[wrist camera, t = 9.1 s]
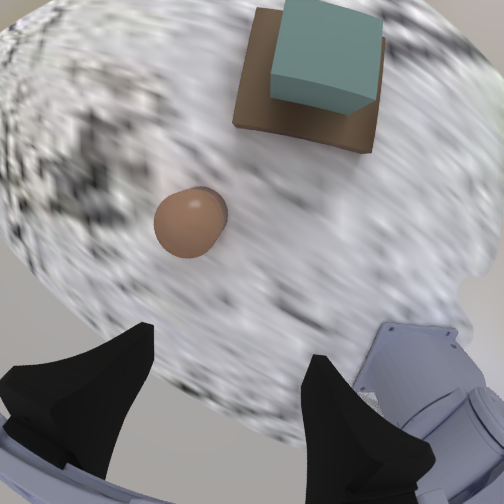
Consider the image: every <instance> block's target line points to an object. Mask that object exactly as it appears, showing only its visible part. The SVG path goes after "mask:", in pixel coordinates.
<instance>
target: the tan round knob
mask: <svg viewBox="0 0 504 504" xmlns="http://www.w3.org/2000/svg"><path fill="white" fill-rule="evenodd" d="M227 219H228V210H227V206H226V203H225V201H224V200H223V198H222V197H221V196H220V195H219V194H218V193H217V192H216V191H214V190H212V189H210V188H208V187H201V186H200V187H193V188H190V189H187V190H184V191H181V192H178V193H175V194H172V195H170V196H168V197H167V198H166V199H164V200H163V201H162V203H161V204H160V205H159V207H158V208H157V211H156V213H155V217H154V230H155V234H156V237H157V239H158V241H159V243H160V244H161V245H162V247H163V248H164V249H165V250H166V251H168V252H169V253H171V254H172V255H174V256H177V257H180V258H195V257H198V256H201V255H203V254H204V253H206V252H207V251H208V250H209V249H210V248H211V247H212V246H213V244H214V243H215V241H216V240H217V238H218V237H219V235H220V234H221V232H222V231H223V229H224V228H225V226H226V223H227Z"/></svg>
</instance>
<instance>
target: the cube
mask: <svg viewBox="0 0 504 504" xmlns="http://www.w3.org/2000/svg"><path fill="white" fill-rule="evenodd" d="M382 29H383V20H381V19H378V18H375V17H373V16H370V15H367V14H364V13H361V12H358V11H355V10H351V9H348V8H345V7H341V6H337V5H334V4H330V3H326V2H322V1H317V0H286V1H285V6H284V11H283V15H282V20H281V25H280V30H279V35H278V40H277V45H276V50H275V55H274V60H273V65H272V70H271V81H270V98H274V99H279V100H284V101H290V102H294V103H299V104H304V105H308V106H313V107H317V108H321V109H325V110H329V111H333V112H336V113H340V114H344V115H347V116H348V115H350V114H352V113H354V112H355V111H357V110H359V109H361V108H362V107H364V106H366V105H368V104H370V103H371V102H373V101H375V100H376V95H377V87H378V78H379V69H380V58H381V45H382Z"/></svg>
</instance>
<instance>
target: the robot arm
mask: <svg viewBox="0 0 504 504" xmlns="http://www.w3.org/2000/svg"><path fill="white" fill-rule="evenodd" d="M391 327H392V329H391V330H389V329H390V328H391ZM447 332H448V333H447ZM446 333H447V334H446ZM457 334H458V331H457V330H456V329H455V328H442V327H430V326H419V325H408V324H398V323H389V322H385V323H383V324H382V325H381V327H380V329H379V332H378V334H377V336H376V339H375V341H374V343H373V346H372V348H371V350H370V352H369V354H368V357H367V359H366V361H365V363H364V365H363V367H362V369H361V371H360V373H359V375H358V377H357V379H356V381H355V383H354V385H353V389H352V388H351V387H350V386H349V384H348V383H347V382H346V381H345V379H344V378H343V377H342V376H341V374H340V373H339V372H338V371H337V369H336V368H335V367H334V365H333V364H332V363H331V361H330V360H329V359H328V358H327V356H324V355H315V354H313V356H312V359H311V362H310V364H309V367H308V370H307V372H306V375H305V377H304V380H303V382H302V385H301V408H302V415H303V422H304V429H305V436H306V443H307V488H306V501H305V504H504V401H503V400H502V399H501V398H500V397H499V396H498V395H497V394H496V393H494V391H492V390H491V389H490V388H488V387H486V383H485V379H484V376H483V373H482V372H481V370H480V369H479V368H478V367H477V365H476V364H475V363H474V362H473V360H472V359H471V358H470V357H469V356H468V354H467V353H466V352H465V351H464V350H463V349H462V347H461V346H460V345H459V344H458V343H457V342H456V340H455V338H456V336H457ZM153 361H154V325H152V324H148V323H144V322H141V323H139V324H137V325H135V326H134V327H132V328H130V329H129V330H127V331H125V332H124V333H122V334H120V335H119V336H117V337H115V338H113V339H112V340H110V341H108V342H106V343H104V344H102V345H100V346H98V347H96V348H94V349H92V350H89V351H87V352H85V353H82V354H79V355H76V356H73V357H70V358H67V359H63V360H59V361H55V362H50V363H44V364H38V365H25V366H24V365H23V366H13V367H12V368H11V369H10V370H9V371H8V372H7V373H6V374H5V375H4V376H3V377H2V378H1V380H0V397H1V399H2V401H3V403H4V405H5V406H6V408H7V410H8V412H9V413H10V415H11V416H10V418H9V419H8V420H7V419H6V418H5V417H4V416H3V415H2V414H1V413H0V480H2V481H3V482H4V483H5V484H6V485H8V486H9V487H10V488H11V489H13V490H14V491H15V492H17V493H18V494H19V495H21V496H22V497H23V498H25V499H26V500H27V501H29V502H31V503H32V504H174V503H170V502H167V501H163V500H159V499H156V498H153V497H149V496H146V495H143V494H140V493H136V492H134V491H131V490H128V489H125V488H122V487H120V486H117V485H115V484H112V483H109V482H107V481H105V479H106V474H107V471H108V466H109V463H110V459H111V456H112V453H113V450H114V447H115V443H116V441H117V437H118V435H119V432H120V430H121V427H122V424H123V422H124V419H125V417H126V415H127V413H128V411H129V409H130V407H131V405H132V404H133V402H134V400H135V398H136V396H137V394H138V393H139V391H140V389H141V387H142V386H143V384H144V382H145V380H146V379H147V376H148V374H149V372H150V369H151V367H152V364H153ZM362 387H363V388H362ZM356 392H375V395H376V397H377V400H378V402H379V405H380V408H381V410H382V413H383V416H384V418H385V419H384V418H383V417H382V416H380V415H379V414H378V413H377V412H375V411H374V410H373V409H372V408H371V407H370V406H369V405H367V404H366V403H365V402H364V401H363V400H362V399H361V398H360V397H359V396H358V394H357V393H356Z"/></svg>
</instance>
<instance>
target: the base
mask: <svg viewBox="0 0 504 504" xmlns="http://www.w3.org/2000/svg"><path fill="white" fill-rule="evenodd" d="M282 15H283V11H281V10H275V9H267V8H259V7H257V8H256V12H255V17H254V21H253V25H252V29H251V34H250V38H249V43H248V47H247V52H246V56H245V61H244V66H243V70H242V75H241V80H240V85H239V90H238V95H237V100H236V105H235V110H234V116H233V121H232V123H233V125H234V126H235V127H238V128H245V129H251V130H258V131H264V132H269V133H275V134H280V135H285V136H290V137H295V138H300V139H305V140H309V141H314V142H318V143H322V144H326V145H331V146H335V147H338V148H342V149H346V150H350V151H353V152H357V153H361V154H367V153H372V148H373V142H374V136H375V130H376V123H377V116H378V109H379V101H380V93H381V84H382V74H383V63H384V49H385V38H384V37H382V45H381V58H380V69H379V78H378V87H377V95H376V100H375V101H373V102H371V103H370V104H368V105H366V106H364V107H362V108H361V109H359V110H357V111H355V112H354V113H352V114H350V115H348V116H347V115H344V114H340V113H336V112H333V111H329V110H325V109H321V108H317V107H313V106H308V105H304V104H299V103H294V102H290V101H284V100H279V99H274V98H270V81H271V70H272V65H273V60H274V55H275V50H276V45H277V40H278V35H279V30H280V25H281V20H282Z"/></svg>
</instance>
